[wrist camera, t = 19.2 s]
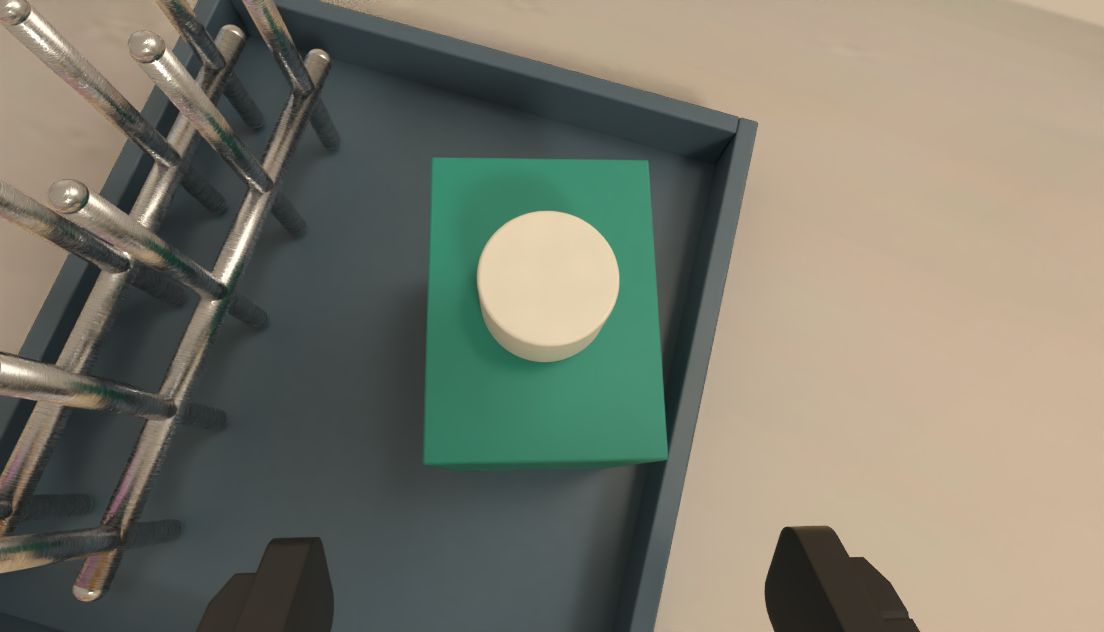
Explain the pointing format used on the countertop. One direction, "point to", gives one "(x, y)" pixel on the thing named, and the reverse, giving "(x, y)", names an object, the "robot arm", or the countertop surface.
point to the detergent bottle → (542, 316)
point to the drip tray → (379, 354)
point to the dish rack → (145, 270)
